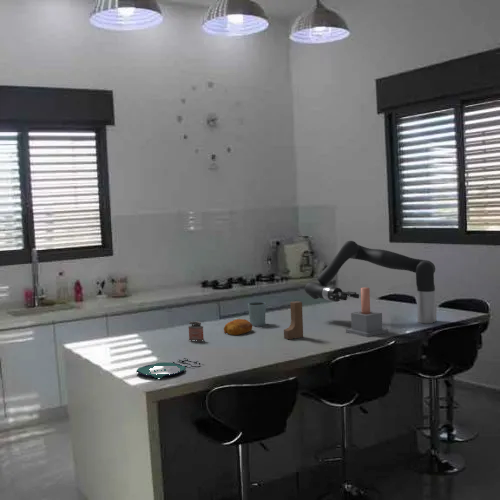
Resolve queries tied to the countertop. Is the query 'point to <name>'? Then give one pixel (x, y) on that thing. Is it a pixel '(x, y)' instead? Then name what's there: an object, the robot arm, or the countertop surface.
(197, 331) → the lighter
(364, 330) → the block
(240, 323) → the bread loaf
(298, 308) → the wooden block
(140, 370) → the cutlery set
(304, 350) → the countertop surface
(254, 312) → the drinking glass
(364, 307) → the peg
